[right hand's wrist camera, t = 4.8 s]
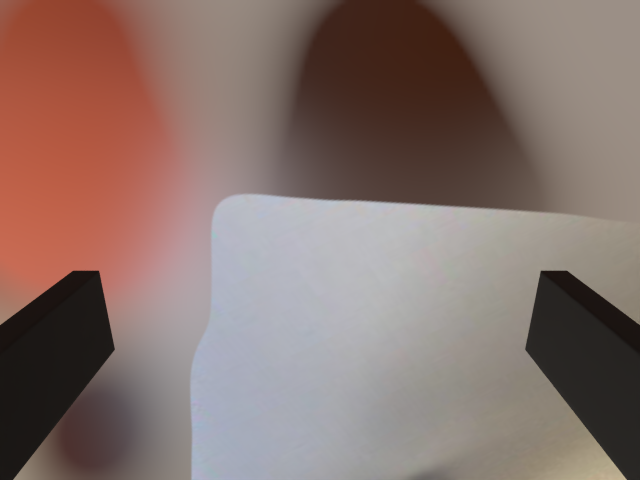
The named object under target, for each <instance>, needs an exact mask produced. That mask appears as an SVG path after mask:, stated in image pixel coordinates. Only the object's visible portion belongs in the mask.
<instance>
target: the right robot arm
mask: <svg viewBox="0 0 640 480" xmlns="http://www.w3.org/2000/svg"><path fill="white" fill-rule="evenodd" d="M114 350H115V348H114V343H113V338H112V333H111V328H110V323H109V318H108V313H107V308H106V303H105V298H104V293H103V288H102V283H101V278H100V273H99V271H72V272H71V273H70V274H68V275H67V276H66V277H64V278H63V279H62V280H60V281H59V282H57V283H56V284H55V285H53V286H52V287H51V288H49V289H48V290H47V291H45V292H44V293H43V294H41V295H40V296H39V297H37V298H36V299H35V300H33V301H32V302H31V303H29V304H28V305H27V306H25V307H24V308H23V309H21V310H20V311H19V312H17V313H16V314H15V315H13V316H12V317H11V318H9V319H8V320H7V321H5V322H4V323H3V324H1V325H0V480H13V479H14V478H15V477H16V475H17V474H18V473H19V471H20V470H21V469H22V467H23V466H24V465H25V464H26V462H27V461H28V460H29V459H30V457H31V456H32V455H33V454H34V452H35V451H36V450H37V448H38V447H39V446H40V445H41V443H42V442H43V441H44V439H45V438H46V437H47V436H48V434H49V433H50V432H51V430H52V429H53V428H54V427H55V425H56V424H57V423H58V422H59V420H60V419H61V418H62V416H63V415H64V414H65V413H66V411H67V410H68V409H69V407H70V406H71V405H72V404H73V402H74V401H75V400H76V398H77V397H78V396H79V395H80V393H81V392H82V391H83V390H84V388H85V387H86V386H87V384H88V383H89V382H90V381H91V379H92V378H93V377H94V375H95V374H96V373H97V372H98V370H99V369H100V368H101V366H102V365H103V364H104V363H105V361H106V360H107V359H108V358H109V356H110V355H111V354H112V352H113V351H114ZM525 350H526V351H527V352H528V354H529V355H530V356H531V358H532V359H533V360H534V361H535V363H536V364H537V365H538V366H539V368H540V369H541V370H542V372H543V373H544V374H545V375H546V377H547V378H548V379H549V381H550V382H551V383H552V384H553V386H554V387H555V388H556V390H557V391H558V392H559V393H560V395H561V396H562V397H563V398H564V400H565V401H566V402H567V404H568V405H569V406H570V407H571V409H572V410H573V411H574V413H575V414H576V415H577V416H578V418H579V419H580V420H581V422H582V423H583V424H584V425H585V427H586V428H587V429H588V430H589V432H590V433H591V434H592V436H593V437H594V438H595V439H596V441H597V442H598V443H599V445H600V446H601V447H602V448H603V450H604V451H605V452H606V454H607V455H608V456H609V457H610V459H611V460H612V461H613V462H614V464H615V465H616V466H617V468H618V469H619V470H620V471H621V473H622V474H623V475H624V477H625V478H626V479H627V480H640V325H639V324H638V323H636V322H635V321H634V320H632V319H631V318H629V317H628V316H627V315H625V314H624V313H623V312H621V311H620V310H619V309H617V308H616V307H615V306H613V305H612V304H611V303H609V302H608V301H607V300H605V299H604V298H603V297H601V296H600V295H599V294H597V293H596V292H595V291H593V290H592V289H591V288H589V287H588V286H587V285H585V284H584V283H583V282H581V281H580V280H578V279H577V278H576V277H574V276H573V275H572V274H570V273H569V272H568V271H541V273H540V278H539V283H538V288H537V293H536V298H535V303H534V308H533V313H532V318H531V323H530V328H529V333H528V338H527V343H526V348H525Z"/></svg>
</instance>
